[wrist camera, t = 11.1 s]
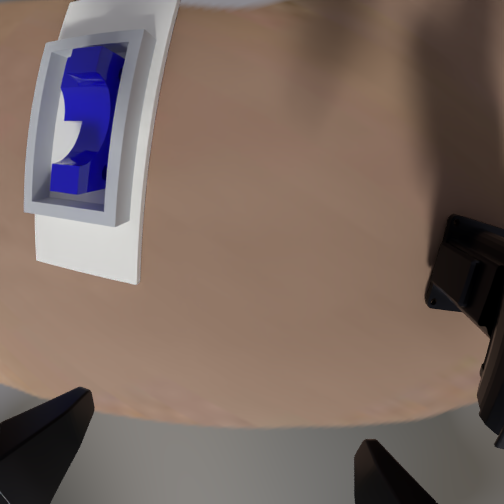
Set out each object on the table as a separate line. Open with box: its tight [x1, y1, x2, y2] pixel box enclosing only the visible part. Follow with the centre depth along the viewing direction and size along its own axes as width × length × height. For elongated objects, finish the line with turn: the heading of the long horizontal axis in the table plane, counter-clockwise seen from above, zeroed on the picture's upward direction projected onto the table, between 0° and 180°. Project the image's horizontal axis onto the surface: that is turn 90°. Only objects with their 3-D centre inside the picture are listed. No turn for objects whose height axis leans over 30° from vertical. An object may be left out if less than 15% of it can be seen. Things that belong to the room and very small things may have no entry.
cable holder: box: [50, 46, 125, 195], centre depth 15 cm, size 8×4×4 cm, turn 170°
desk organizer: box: [24, 0, 181, 285], centre depth 17 cm, size 9×20×3 cm, turn 171°
